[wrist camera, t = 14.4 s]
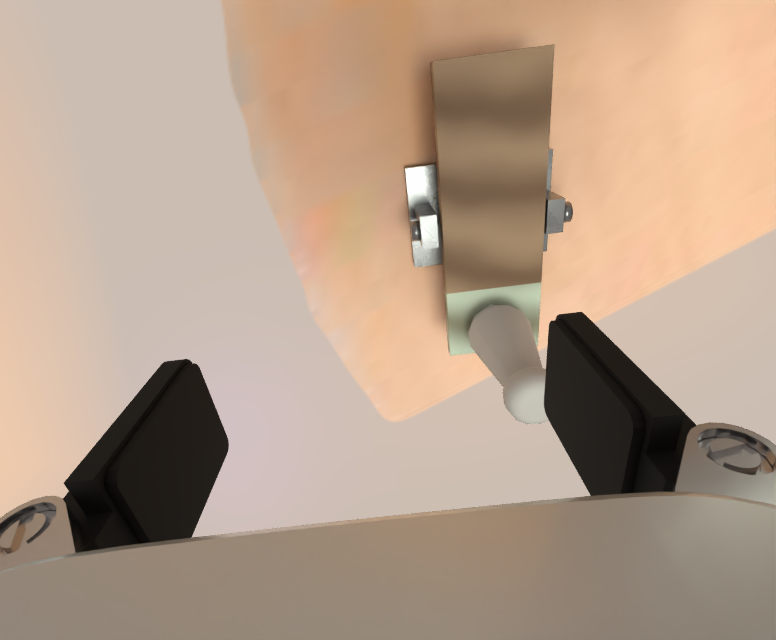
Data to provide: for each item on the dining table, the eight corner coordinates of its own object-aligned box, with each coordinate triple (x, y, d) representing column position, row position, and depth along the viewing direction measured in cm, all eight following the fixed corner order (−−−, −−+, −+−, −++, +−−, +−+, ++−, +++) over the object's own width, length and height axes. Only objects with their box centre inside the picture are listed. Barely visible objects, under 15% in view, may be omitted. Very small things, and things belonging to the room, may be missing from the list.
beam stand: (402, 167, 40) (406, 177, 35) (550, 148, 40) (578, 154, 34) (411, 264, 45) (417, 285, 39) (545, 247, 44) (568, 267, 39)
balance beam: (430, 63, 32) (432, 61, 31) (546, 46, 32) (554, 44, 30) (448, 348, 44) (450, 355, 42) (532, 338, 44) (537, 345, 42)
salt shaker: (474, 290, 39) (516, 366, 28) (530, 301, 40) (594, 379, 28) (457, 342, 42) (488, 432, 30) (510, 351, 42) (560, 442, 31)
